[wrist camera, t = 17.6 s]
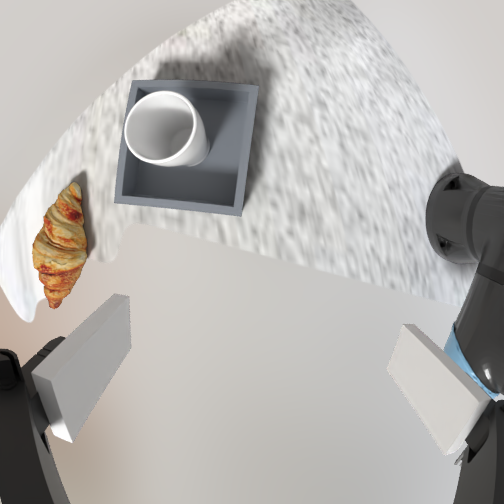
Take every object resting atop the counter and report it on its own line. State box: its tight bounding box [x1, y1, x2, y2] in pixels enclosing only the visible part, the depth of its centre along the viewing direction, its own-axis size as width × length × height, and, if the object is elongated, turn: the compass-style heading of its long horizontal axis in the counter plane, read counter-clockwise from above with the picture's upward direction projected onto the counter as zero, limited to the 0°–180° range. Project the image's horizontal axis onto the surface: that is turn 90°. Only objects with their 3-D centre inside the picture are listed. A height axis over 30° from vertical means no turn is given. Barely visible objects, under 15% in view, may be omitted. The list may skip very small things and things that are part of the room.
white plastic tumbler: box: [124, 91, 210, 167], centre depth 30 cm, size 7×7×15 cm
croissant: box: [32, 182, 87, 309], centre depth 38 cm, size 21×10×8 cm, turn 161°
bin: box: [114, 80, 259, 216], centre depth 35 cm, size 16×16×6 cm
